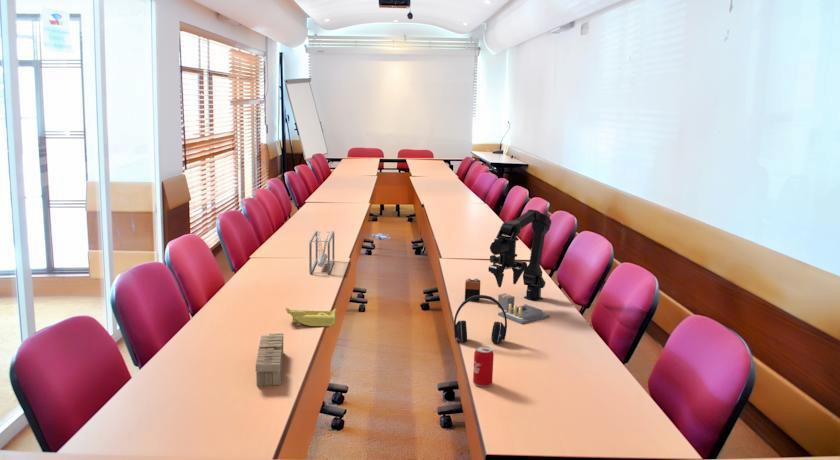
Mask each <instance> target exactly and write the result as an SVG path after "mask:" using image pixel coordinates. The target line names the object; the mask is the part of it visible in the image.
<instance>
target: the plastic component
mask: <svg viewBox="0 0 840 460" xmlns="http://www.w3.org/2000/svg"><path fill="white" fill-rule="evenodd" d="M285 311H286V313H287V315H288V314H289V315H290V316H291V317H292V323H293V324H303V325H305V326H308V327H309V326H310V327H333V326H335V324H336V322H337V308H334V309H332V310H331V311H330V310H328V311H327V310H325V311H324V310H295V309H294V310H293V309H290V308H289V307H286V308H285Z"/></svg>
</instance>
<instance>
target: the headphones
mask: <svg viewBox="0 0 840 460" xmlns="http://www.w3.org/2000/svg"><path fill="white" fill-rule="evenodd" d="M473 299H485V300H490V301H491V302H493V303H495V304H496V305H497V307H498V306H499V307H500V308H501V309H500V308H499V309H500V310H501V312H503V314H504V317H505V318H504V317H503V318H504V323H503V322H502V321H494V322H493V326H492V329H491V338H490V339H491V342H492V343H496V344H501V342H502V341H505V339H506V335H507V328H508V321H507V320H508V319H507V318H506V314H505V311H506V310H504V309H503V308H502V306H501V304H500V303H499V302H498V300H497V299H495V298H494V297H492V296H490V295H484V294H480V295H475V296H471V297H469V298H468V299H466V300H465V299H464V301H463V302H462V303H461V304H460V305H459V307H458V308H457V310H456V313H455V315H454V317H453V318H454V319H453V330H454V339H455V340H456V339H457V341H458V342H461V343H462V342H463V343H464V342H467V341H468V330H467V328H468V327H467V321H466V320H458V321H457V318H458V315H459V312H460V311H461V309H462V308H463V307H464V306H465V305H466V304H467V303H469V302H472V301H471V300H473Z"/></svg>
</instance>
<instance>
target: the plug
mask: <svg viewBox="0 0 840 460" xmlns="http://www.w3.org/2000/svg"><path fill="white" fill-rule="evenodd" d="M497 299H498V300H497V301H498V302H499V303H500V304H501V306H502V308H503V309H504V311H509V304H512V308H514V306H515V296H513V295H511V294H508V293H501V294H498V298H497ZM497 308H498V309H500V310H501V308H500V307H499V306H498V305H497Z"/></svg>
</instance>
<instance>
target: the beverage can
mask: <svg viewBox="0 0 840 460" xmlns="http://www.w3.org/2000/svg"><path fill="white" fill-rule="evenodd" d="M494 355H495V354H494V352H493V349H492V347H490V346H485V345H481V346H479V345H478V346H477V347H476V348H475V351H474V354H473V376H472V382H473V384H475V385H476V386H477V387H479V388H481V387H482V388H486V387H489V386H490V385H492V384H493V379H494V378H493V372H494V357H495V356H494Z"/></svg>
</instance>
